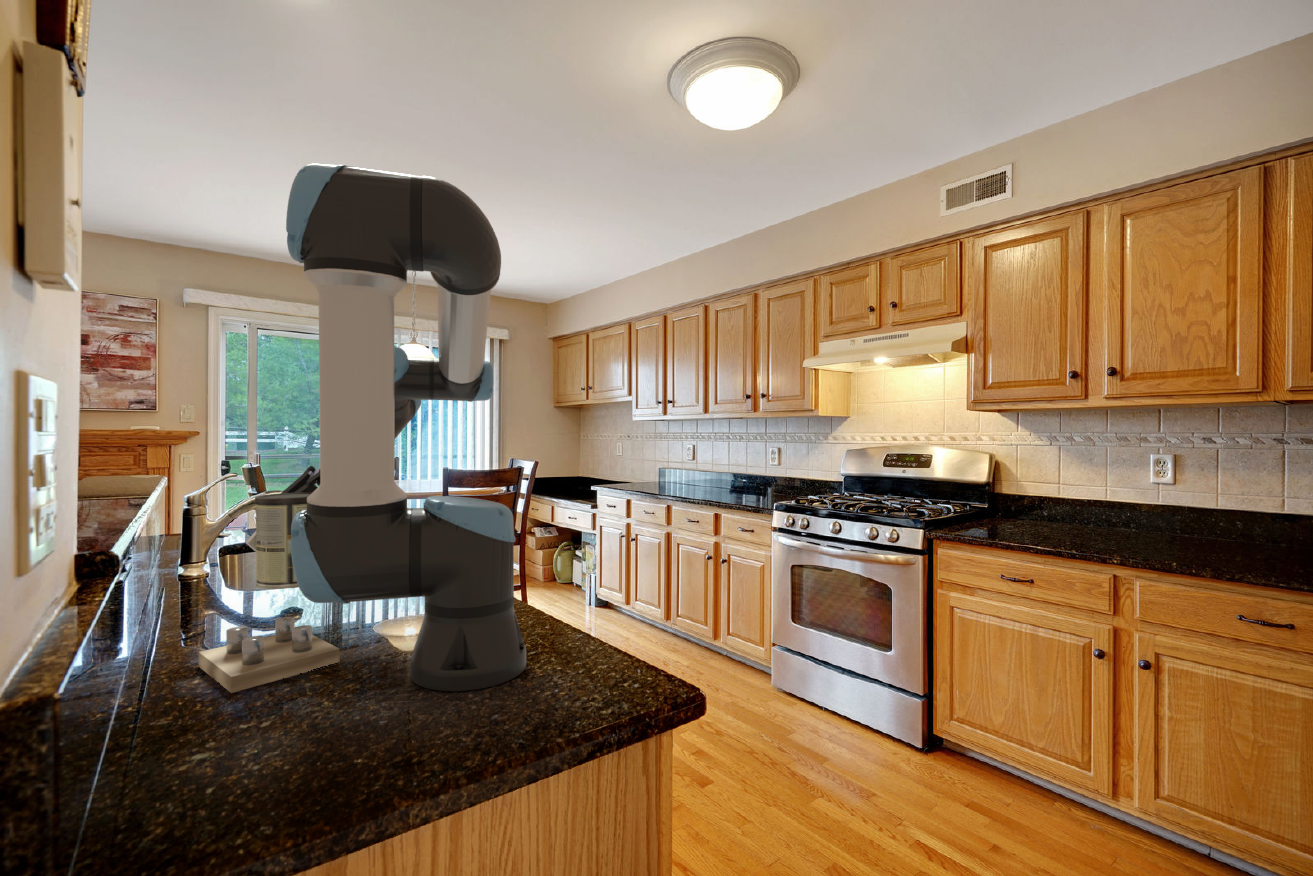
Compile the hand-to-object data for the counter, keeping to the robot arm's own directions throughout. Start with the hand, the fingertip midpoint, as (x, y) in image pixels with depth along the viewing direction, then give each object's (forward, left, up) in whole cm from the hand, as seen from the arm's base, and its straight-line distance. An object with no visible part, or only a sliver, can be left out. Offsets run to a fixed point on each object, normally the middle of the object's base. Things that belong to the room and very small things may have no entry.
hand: (274, 550), depth 99 cm
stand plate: (-13, +5, -13) cm, 20 cm away
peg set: (-13, +5, -11) cm, 18 cm away
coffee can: (+1, -3, -6) cm, 6 cm away
